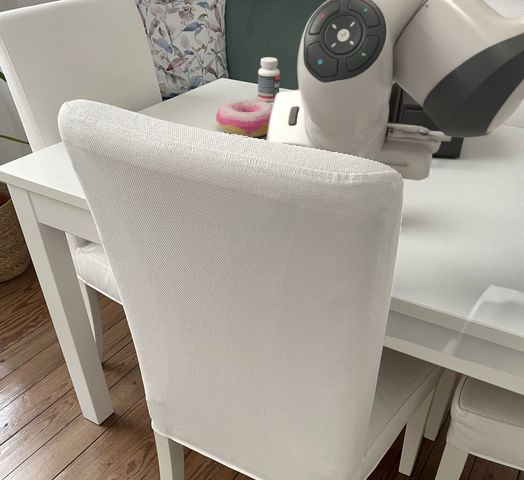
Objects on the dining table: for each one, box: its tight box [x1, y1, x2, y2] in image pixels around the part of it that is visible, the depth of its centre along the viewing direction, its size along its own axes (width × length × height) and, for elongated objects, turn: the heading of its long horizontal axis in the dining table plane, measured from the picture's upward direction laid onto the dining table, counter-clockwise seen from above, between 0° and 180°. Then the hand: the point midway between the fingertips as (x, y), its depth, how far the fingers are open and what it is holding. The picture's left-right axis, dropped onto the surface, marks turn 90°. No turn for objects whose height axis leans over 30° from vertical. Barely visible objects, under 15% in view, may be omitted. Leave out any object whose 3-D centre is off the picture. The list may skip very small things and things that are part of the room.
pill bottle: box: [257, 56, 281, 102], centre depth 138 cm, size 5×5×9 cm
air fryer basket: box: [403, 108, 462, 155], centre depth 113 cm, size 18×11×8 cm, turn 170°
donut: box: [215, 98, 273, 138], centre depth 123 cm, size 14×13×5 cm
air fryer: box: [395, 87, 465, 159], centre depth 116 cm, size 15×13×10 cm
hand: (348, 174), depth 76 cm, fingers open, 8 cm apart
